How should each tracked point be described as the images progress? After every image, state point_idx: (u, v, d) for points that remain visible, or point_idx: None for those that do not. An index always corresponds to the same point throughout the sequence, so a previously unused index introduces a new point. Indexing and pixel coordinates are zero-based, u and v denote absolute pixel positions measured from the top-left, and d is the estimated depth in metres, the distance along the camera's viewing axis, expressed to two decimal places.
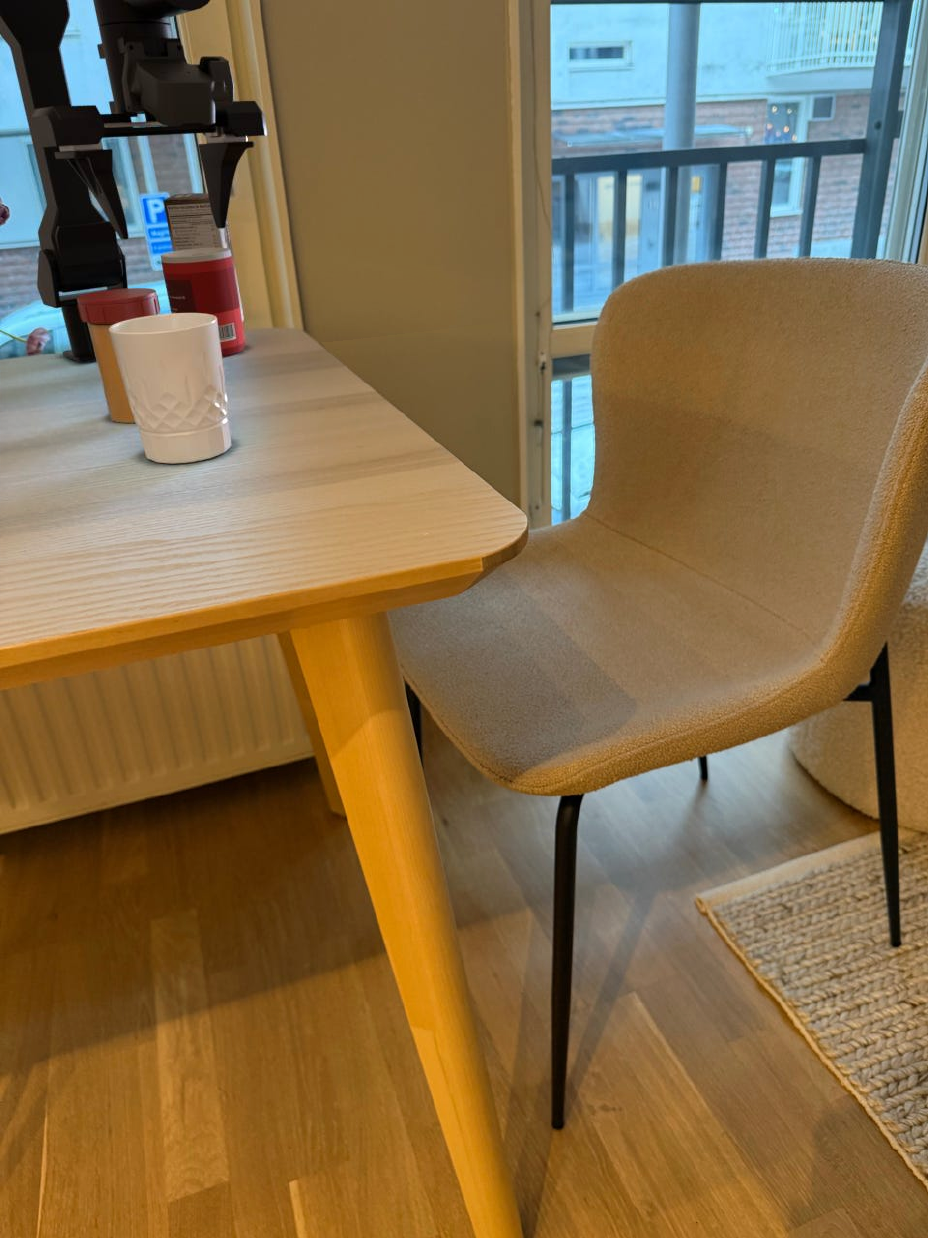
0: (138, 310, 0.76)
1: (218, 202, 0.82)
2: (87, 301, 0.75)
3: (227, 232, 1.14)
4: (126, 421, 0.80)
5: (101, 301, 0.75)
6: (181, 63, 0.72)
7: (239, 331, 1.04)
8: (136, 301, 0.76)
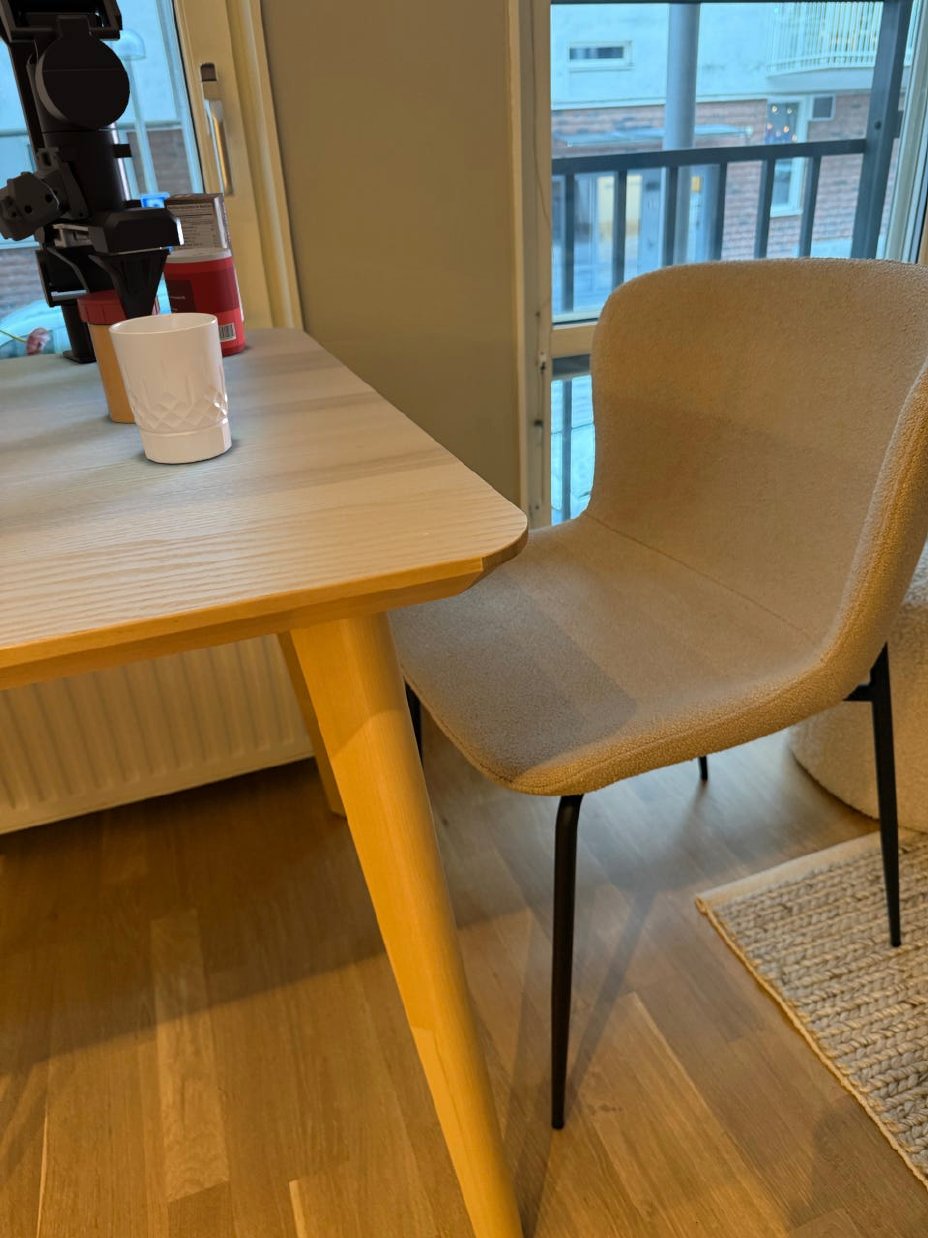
0: None
1: None
2: (87, 301, 0.75)
3: (227, 232, 1.14)
4: (126, 421, 0.80)
5: (101, 301, 0.75)
6: (42, 175, 0.70)
7: (239, 331, 1.04)
8: None
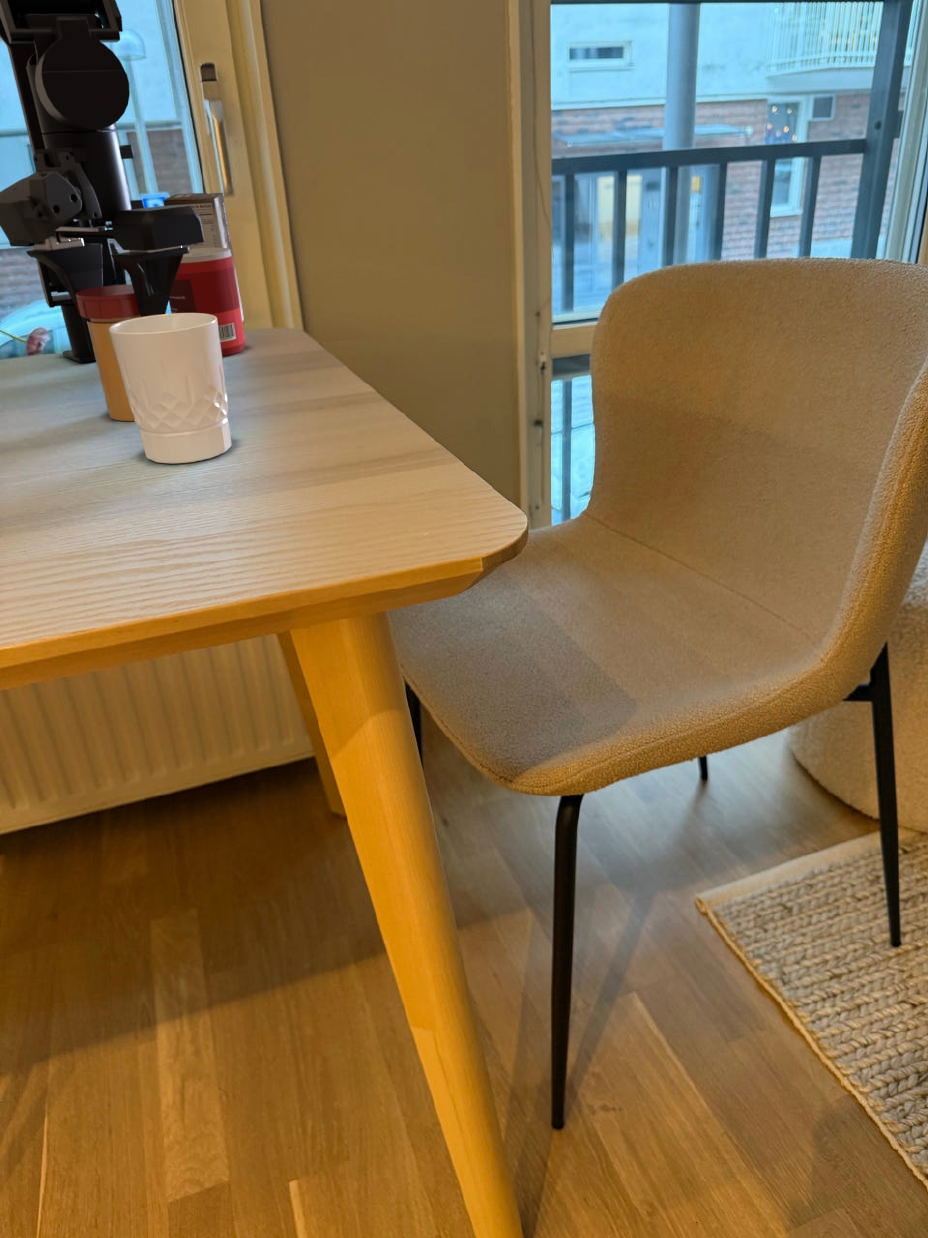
0: None
1: None
2: None
3: (227, 232, 1.14)
4: (125, 419, 0.81)
5: None
6: None
7: (239, 331, 1.04)
8: None
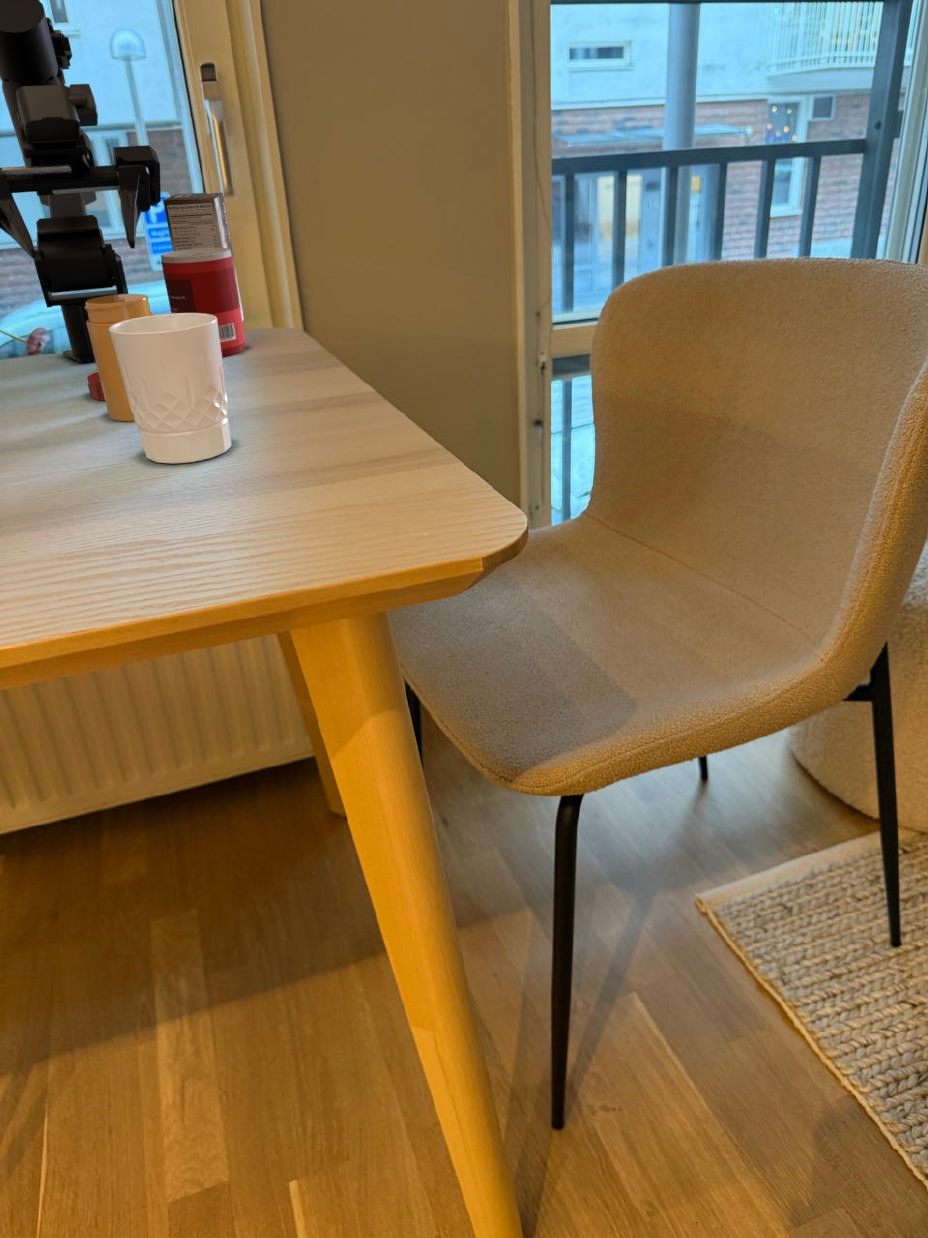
0: None
1: (125, 223, 0.89)
2: None
3: (227, 232, 1.14)
4: (125, 419, 0.81)
5: None
6: None
7: (239, 331, 1.04)
8: None
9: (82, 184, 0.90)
